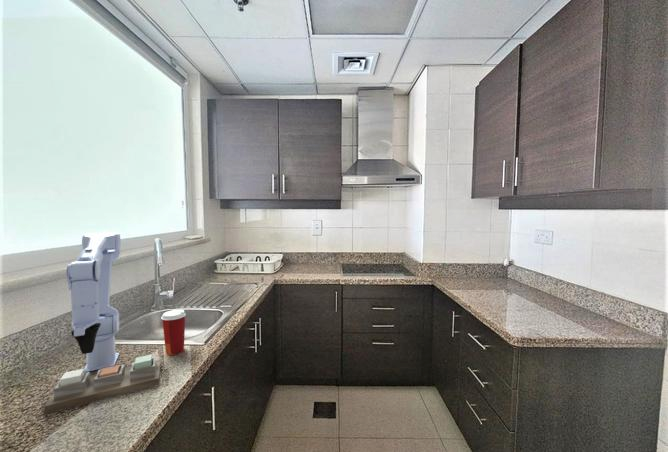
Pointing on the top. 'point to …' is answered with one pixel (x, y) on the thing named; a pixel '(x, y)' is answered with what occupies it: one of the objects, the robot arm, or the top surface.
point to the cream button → (72, 377)
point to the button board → (103, 386)
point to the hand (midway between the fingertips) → (87, 352)
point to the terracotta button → (110, 371)
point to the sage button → (143, 362)
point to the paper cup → (174, 331)
